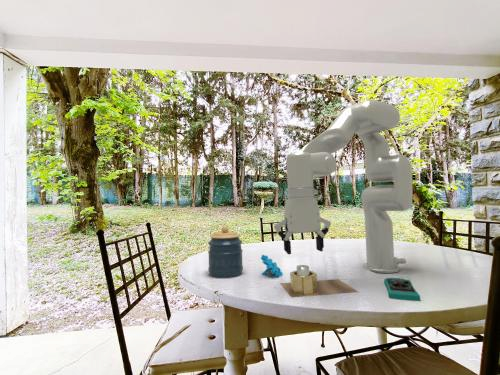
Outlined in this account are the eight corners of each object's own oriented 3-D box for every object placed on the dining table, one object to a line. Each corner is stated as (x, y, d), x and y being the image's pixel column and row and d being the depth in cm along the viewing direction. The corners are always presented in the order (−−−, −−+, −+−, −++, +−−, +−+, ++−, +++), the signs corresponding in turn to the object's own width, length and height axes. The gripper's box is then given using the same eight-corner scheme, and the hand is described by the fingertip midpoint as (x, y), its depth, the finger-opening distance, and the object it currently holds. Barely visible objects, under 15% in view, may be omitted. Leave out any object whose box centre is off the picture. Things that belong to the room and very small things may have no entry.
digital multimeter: (410, 288, 86) (410, 278, 86) (421, 305, 72) (420, 294, 72) (384, 285, 89) (383, 276, 89) (389, 302, 75) (388, 291, 75)
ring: (310, 286, 87) (310, 269, 87) (320, 293, 80) (319, 275, 80) (288, 287, 86) (288, 271, 86) (296, 295, 79) (295, 277, 79)
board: (338, 281, 93) (338, 279, 93) (359, 294, 80) (359, 291, 80) (279, 285, 90) (279, 283, 90) (291, 299, 77) (291, 297, 77)
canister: (248, 270, 109) (247, 225, 110) (232, 279, 97) (231, 228, 98) (219, 268, 115) (219, 224, 115) (201, 276, 103) (200, 227, 104)
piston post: (307, 288, 85) (306, 264, 85) (311, 292, 81) (310, 267, 81) (295, 289, 84) (294, 265, 84) (299, 293, 80) (298, 268, 81)
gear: (279, 276, 94) (260, 253, 98) (267, 288, 95) (248, 265, 99) (287, 272, 104) (269, 252, 108) (276, 283, 105) (258, 263, 109)
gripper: (323, 192, 89) (326, 247, 88) (269, 195, 86) (272, 252, 86) (333, 192, 81) (337, 252, 81) (275, 195, 79) (279, 257, 78)
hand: (304, 252), depth 83 cm, fingers open, 9 cm apart
